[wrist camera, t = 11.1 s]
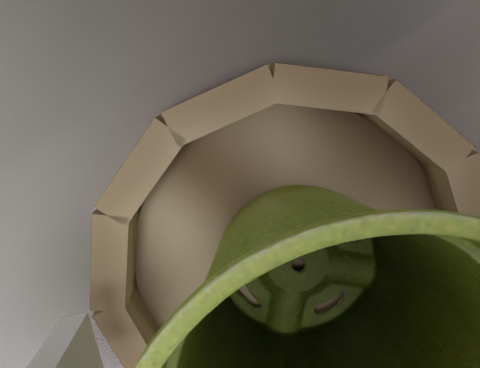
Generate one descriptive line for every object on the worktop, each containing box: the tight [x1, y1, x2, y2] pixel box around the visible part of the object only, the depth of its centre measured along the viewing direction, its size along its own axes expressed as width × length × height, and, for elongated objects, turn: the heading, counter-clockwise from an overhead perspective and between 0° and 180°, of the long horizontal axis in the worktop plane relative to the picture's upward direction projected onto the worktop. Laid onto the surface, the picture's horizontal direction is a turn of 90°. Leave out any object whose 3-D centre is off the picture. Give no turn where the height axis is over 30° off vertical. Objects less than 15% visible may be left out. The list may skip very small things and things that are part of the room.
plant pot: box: [134, 185, 480, 368], centre depth 11 cm, size 9×9×9 cm
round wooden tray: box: [90, 63, 480, 368], centre depth 14 cm, size 14×14×2 cm
